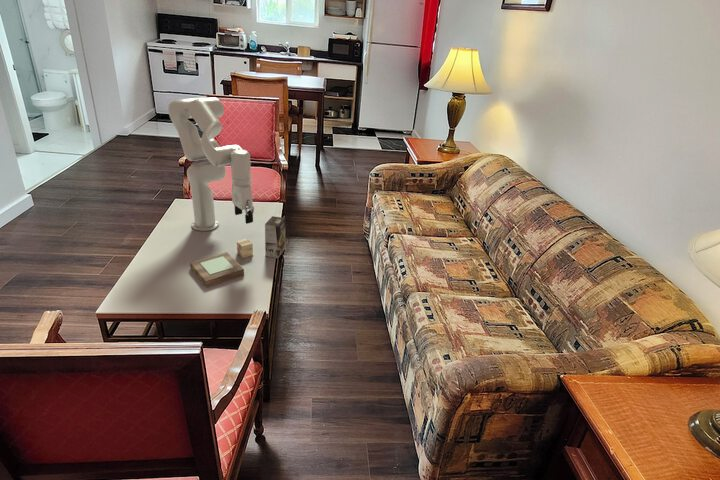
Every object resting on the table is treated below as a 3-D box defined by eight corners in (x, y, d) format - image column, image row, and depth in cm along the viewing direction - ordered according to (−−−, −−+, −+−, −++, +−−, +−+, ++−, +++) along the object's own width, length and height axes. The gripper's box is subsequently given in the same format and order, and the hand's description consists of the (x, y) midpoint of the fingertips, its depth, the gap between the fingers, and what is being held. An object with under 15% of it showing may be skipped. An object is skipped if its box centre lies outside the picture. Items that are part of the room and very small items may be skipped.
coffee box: (278, 258, 190) (278, 226, 182) (264, 256, 191) (264, 224, 183) (285, 248, 198) (285, 217, 190) (272, 246, 199) (272, 215, 191)
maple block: (237, 252, 191) (236, 241, 188) (247, 249, 194) (247, 238, 191) (242, 258, 188) (241, 246, 185) (252, 254, 191) (252, 243, 188)
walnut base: (190, 268, 178) (189, 261, 176) (227, 257, 187) (226, 251, 186) (206, 287, 167) (205, 280, 166) (244, 275, 177) (243, 268, 175)
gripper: (223, 175, 178) (226, 213, 186) (242, 189, 166) (245, 228, 174) (240, 172, 182) (242, 209, 190) (260, 185, 171) (261, 224, 179)
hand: (244, 218), depth 182 cm, fingers open, 9 cm apart
